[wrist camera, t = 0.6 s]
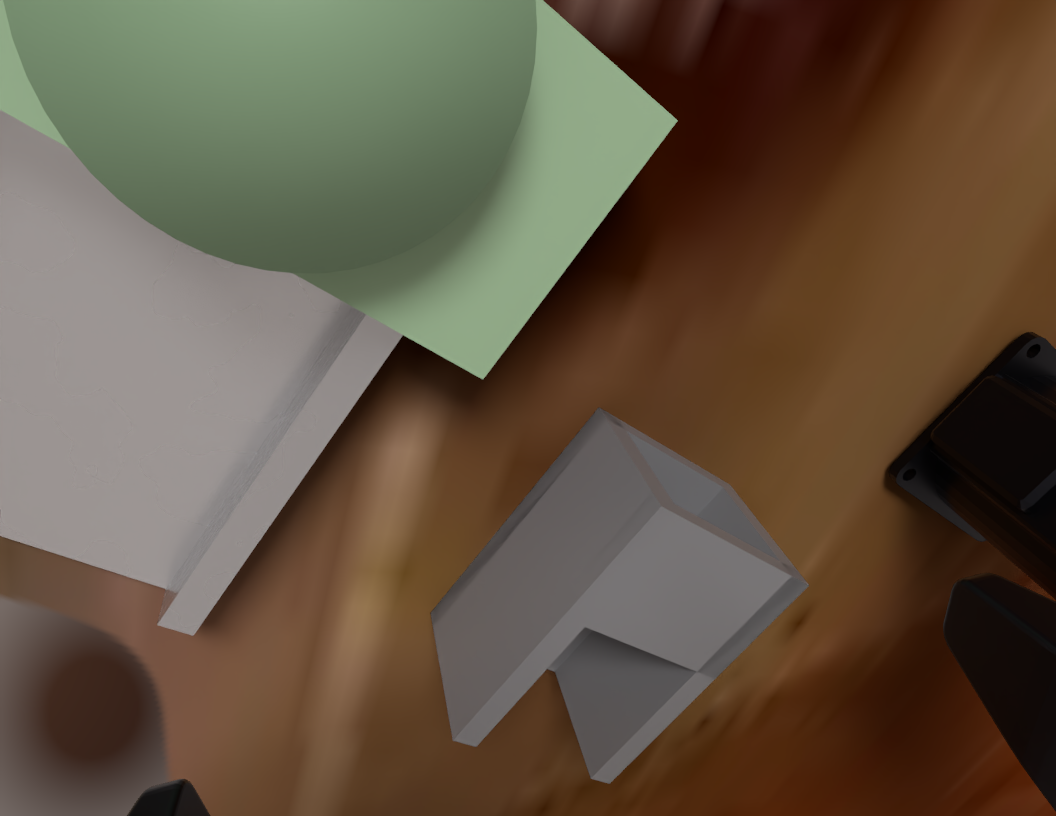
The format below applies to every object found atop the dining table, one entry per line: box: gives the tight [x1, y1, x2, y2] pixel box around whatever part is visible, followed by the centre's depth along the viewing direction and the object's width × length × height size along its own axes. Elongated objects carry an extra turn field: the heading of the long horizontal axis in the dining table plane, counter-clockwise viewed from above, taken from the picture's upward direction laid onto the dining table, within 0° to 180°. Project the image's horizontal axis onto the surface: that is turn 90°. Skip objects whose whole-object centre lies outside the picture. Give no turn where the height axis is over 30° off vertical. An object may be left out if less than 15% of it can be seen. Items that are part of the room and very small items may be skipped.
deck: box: [0, 0, 678, 636], centre depth 16 cm, size 14×19×4 cm
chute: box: [431, 408, 809, 784], centre depth 23 cm, size 6×9×5 cm, turn 143°
